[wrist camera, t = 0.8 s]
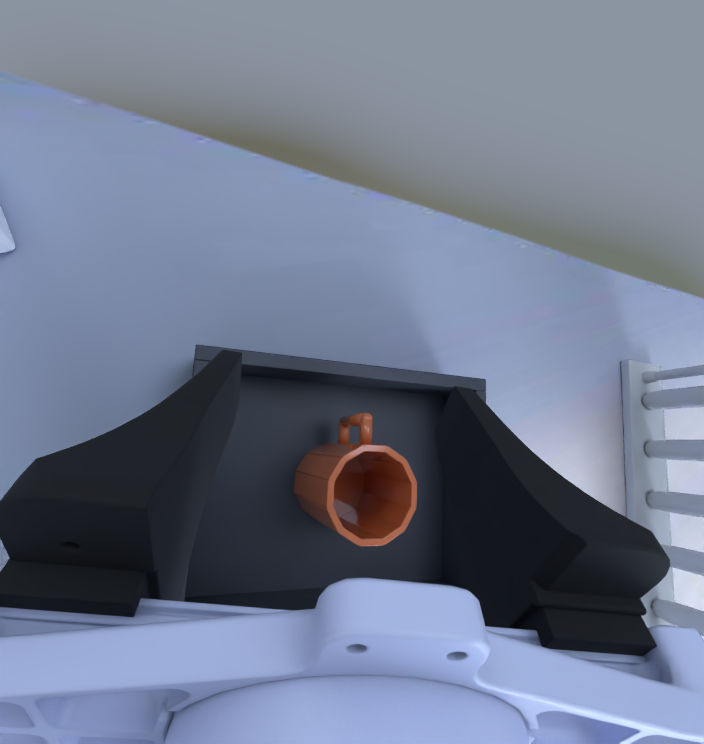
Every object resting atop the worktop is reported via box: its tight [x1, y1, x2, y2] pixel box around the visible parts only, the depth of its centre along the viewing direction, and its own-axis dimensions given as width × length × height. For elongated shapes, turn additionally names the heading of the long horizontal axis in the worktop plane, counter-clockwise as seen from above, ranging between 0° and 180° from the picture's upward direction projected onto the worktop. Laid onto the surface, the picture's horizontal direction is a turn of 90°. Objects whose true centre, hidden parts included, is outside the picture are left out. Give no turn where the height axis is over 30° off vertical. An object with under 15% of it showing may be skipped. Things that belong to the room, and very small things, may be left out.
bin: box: [180, 345, 486, 611], centre depth 27 cm, size 15×19×4 cm
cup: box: [294, 413, 417, 546], centre depth 25 cm, size 7×5×7 cm
